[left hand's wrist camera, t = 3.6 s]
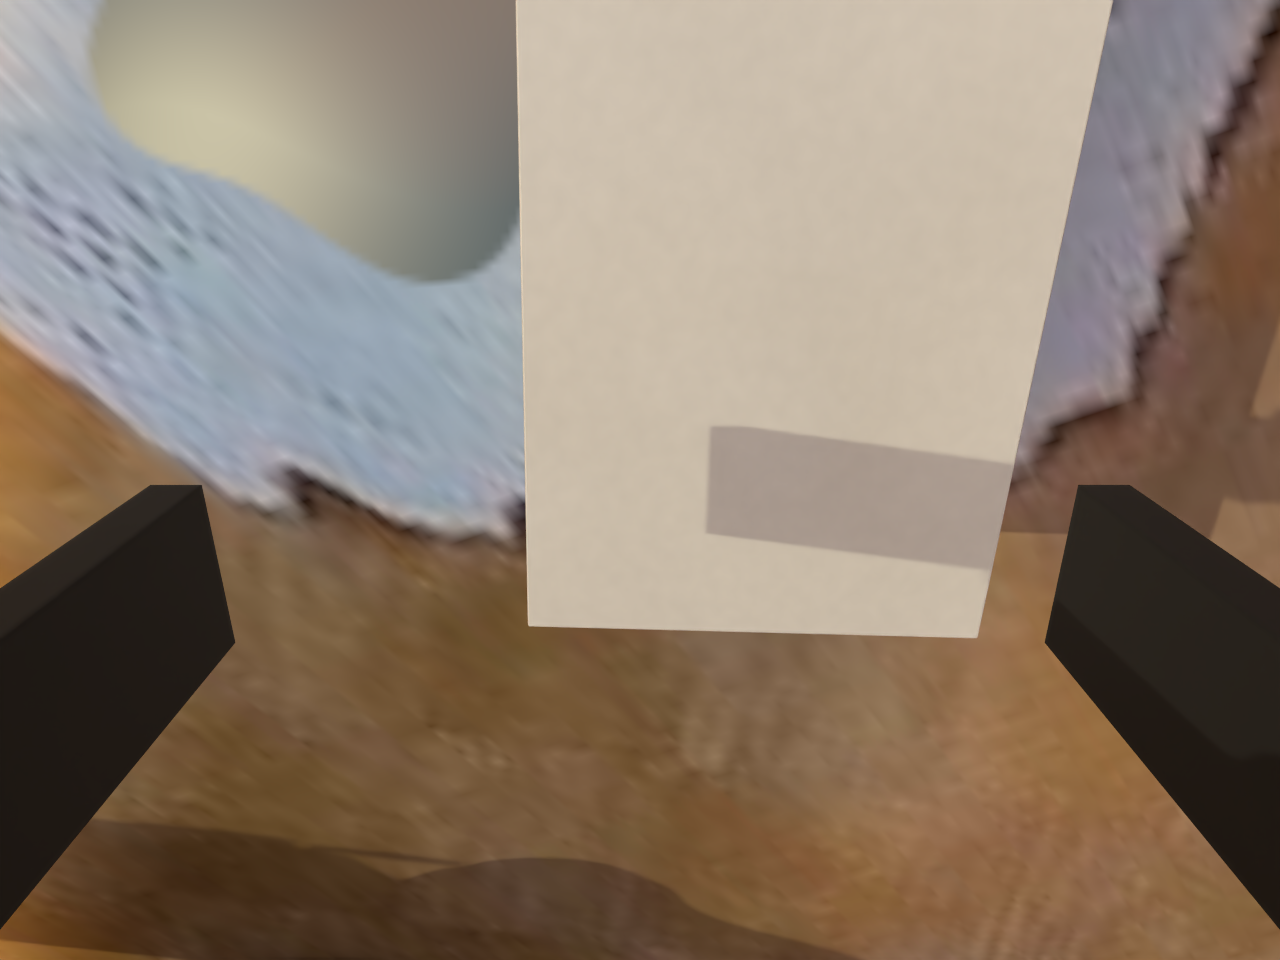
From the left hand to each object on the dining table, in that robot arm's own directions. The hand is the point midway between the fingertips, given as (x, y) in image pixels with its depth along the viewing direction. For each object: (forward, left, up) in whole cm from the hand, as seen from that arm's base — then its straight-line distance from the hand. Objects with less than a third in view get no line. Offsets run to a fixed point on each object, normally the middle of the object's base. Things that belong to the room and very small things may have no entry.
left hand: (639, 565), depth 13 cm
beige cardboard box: (+3, -4, -16) cm, 17 cm away
